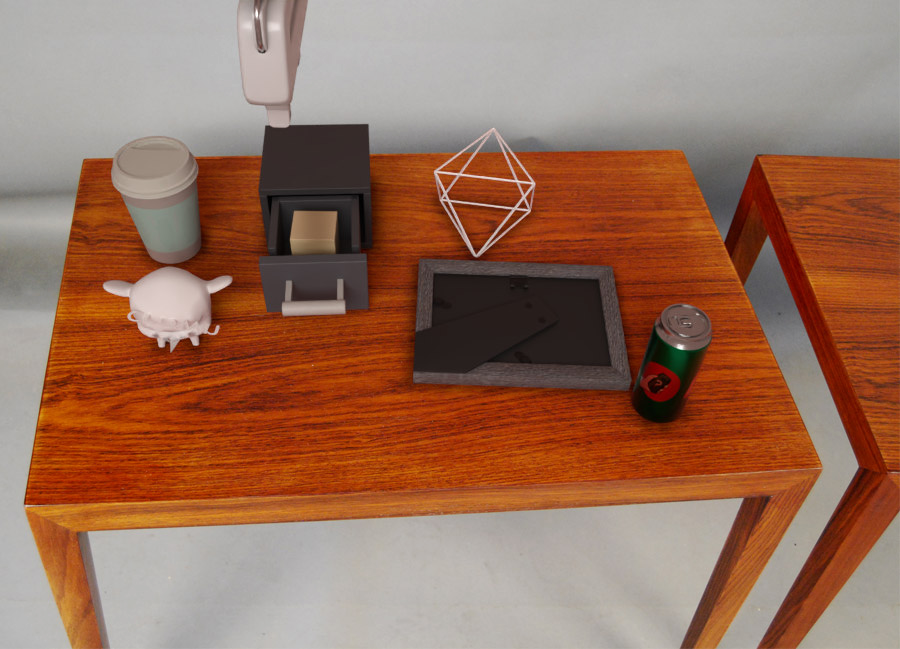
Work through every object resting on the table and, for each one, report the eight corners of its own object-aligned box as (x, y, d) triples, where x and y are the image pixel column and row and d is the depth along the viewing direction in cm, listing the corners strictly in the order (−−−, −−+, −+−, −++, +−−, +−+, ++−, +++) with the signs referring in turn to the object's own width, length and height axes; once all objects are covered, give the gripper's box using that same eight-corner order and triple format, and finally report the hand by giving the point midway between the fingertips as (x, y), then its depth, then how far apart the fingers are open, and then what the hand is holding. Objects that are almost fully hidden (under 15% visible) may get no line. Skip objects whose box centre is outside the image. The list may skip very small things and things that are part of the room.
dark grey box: (372, 248, 96) (370, 187, 90) (267, 251, 95) (258, 189, 89) (370, 183, 104) (368, 123, 97) (273, 185, 103) (265, 125, 96)
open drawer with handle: (369, 340, 85) (367, 292, 80) (264, 344, 84) (255, 296, 79) (367, 241, 95) (365, 193, 90) (272, 243, 94) (265, 195, 89)
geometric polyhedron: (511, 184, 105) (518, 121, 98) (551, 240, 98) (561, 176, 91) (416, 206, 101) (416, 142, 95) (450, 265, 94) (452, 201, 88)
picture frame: (413, 383, 83) (628, 390, 84) (413, 369, 82) (632, 377, 82) (419, 268, 94) (609, 276, 94) (419, 255, 92) (612, 263, 93)
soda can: (687, 427, 81) (722, 343, 72) (634, 426, 81) (662, 342, 72) (676, 385, 84) (709, 300, 75) (625, 384, 84) (652, 299, 75)
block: (295, 282, 89) (289, 239, 84) (299, 253, 92) (293, 210, 87) (338, 283, 89) (334, 239, 85) (340, 254, 92) (337, 211, 88)
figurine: (128, 323, 89) (105, 372, 80) (114, 248, 85) (88, 292, 76) (246, 317, 90) (235, 366, 82) (237, 244, 86) (225, 286, 78)
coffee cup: (230, 239, 96) (212, 151, 87) (175, 283, 91) (150, 194, 82) (174, 211, 99) (151, 123, 90) (117, 252, 94) (88, 163, 85)
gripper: (300, 0, 59) (313, 164, 69) (320, -116, 72) (328, 35, 83) (207, -4, 58) (233, 162, 68) (245, -120, 72) (262, 33, 82)
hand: (285, 92), depth 76 cm, fingers open, 8 cm apart
